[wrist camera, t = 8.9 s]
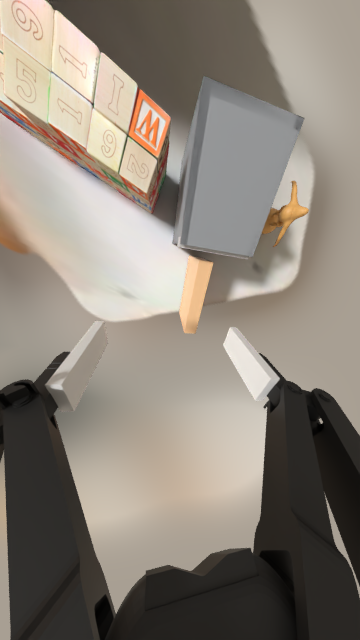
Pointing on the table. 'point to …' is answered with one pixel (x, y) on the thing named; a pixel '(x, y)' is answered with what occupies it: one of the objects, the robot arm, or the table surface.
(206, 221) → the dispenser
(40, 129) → the stack of blocks
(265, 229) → the figurine
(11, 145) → the table surface
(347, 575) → the robot arm
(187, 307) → the light orange rectangular block
